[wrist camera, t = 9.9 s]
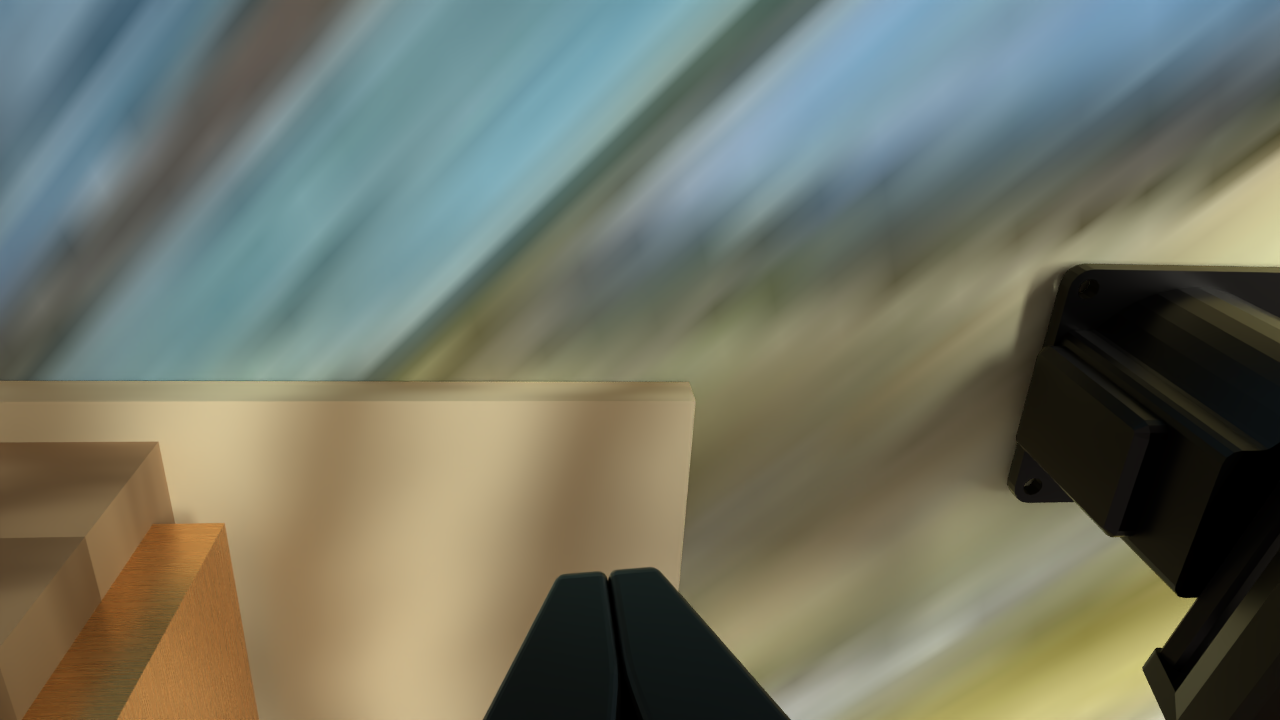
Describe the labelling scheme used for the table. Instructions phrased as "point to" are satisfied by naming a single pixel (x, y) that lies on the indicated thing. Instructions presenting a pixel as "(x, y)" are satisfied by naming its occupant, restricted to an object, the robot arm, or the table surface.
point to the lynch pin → (160, 639)
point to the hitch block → (339, 521)
